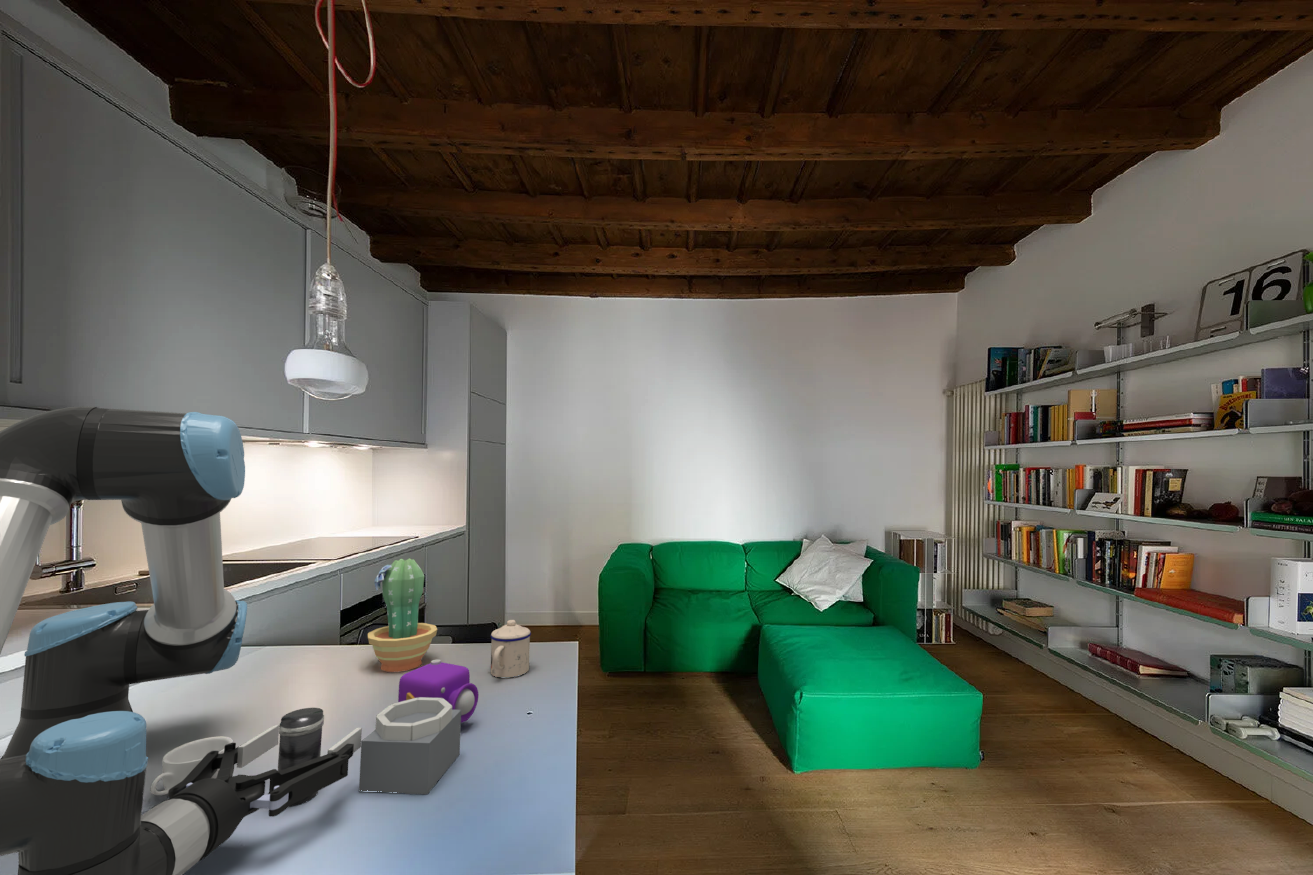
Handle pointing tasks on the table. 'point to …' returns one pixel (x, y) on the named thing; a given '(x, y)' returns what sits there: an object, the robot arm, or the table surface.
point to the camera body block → (410, 746)
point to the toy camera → (441, 686)
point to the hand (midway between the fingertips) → (317, 735)
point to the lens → (300, 739)
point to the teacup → (187, 761)
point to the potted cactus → (401, 618)
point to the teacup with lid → (510, 650)
